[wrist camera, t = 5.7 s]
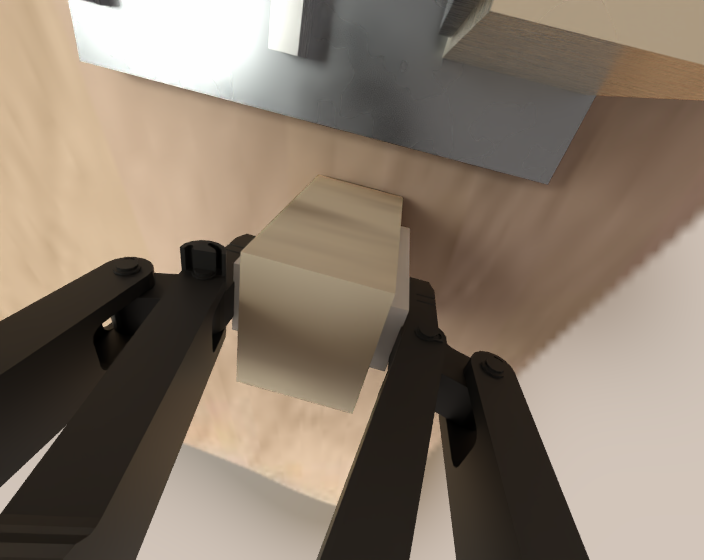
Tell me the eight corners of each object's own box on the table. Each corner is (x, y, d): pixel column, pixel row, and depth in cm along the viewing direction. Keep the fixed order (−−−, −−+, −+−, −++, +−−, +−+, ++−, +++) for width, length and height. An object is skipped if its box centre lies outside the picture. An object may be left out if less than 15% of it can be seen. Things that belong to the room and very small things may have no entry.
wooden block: (373, 291, 18) (349, 421, 11) (303, 272, 18) (236, 389, 11) (403, 197, 15) (395, 294, 8) (318, 174, 15) (240, 251, 8)
